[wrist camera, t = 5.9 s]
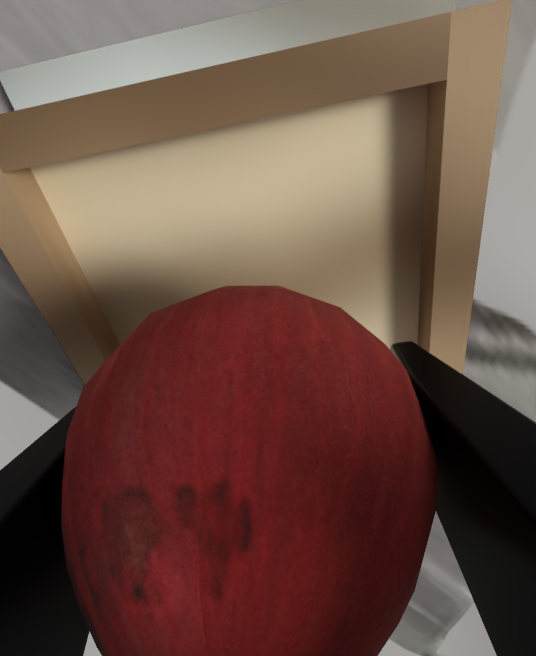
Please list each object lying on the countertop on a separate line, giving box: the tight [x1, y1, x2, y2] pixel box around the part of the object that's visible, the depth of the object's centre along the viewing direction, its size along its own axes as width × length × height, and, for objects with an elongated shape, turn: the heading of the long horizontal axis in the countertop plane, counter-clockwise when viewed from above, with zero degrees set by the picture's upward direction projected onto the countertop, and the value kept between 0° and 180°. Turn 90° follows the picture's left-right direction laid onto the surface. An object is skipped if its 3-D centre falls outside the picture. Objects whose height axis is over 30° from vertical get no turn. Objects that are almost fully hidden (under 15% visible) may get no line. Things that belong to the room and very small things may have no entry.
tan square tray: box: [0, 0, 512, 385], centre depth 13 cm, size 13×13×6 cm
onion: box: [61, 286, 438, 656], centre depth 7 cm, size 6×6×8 cm
